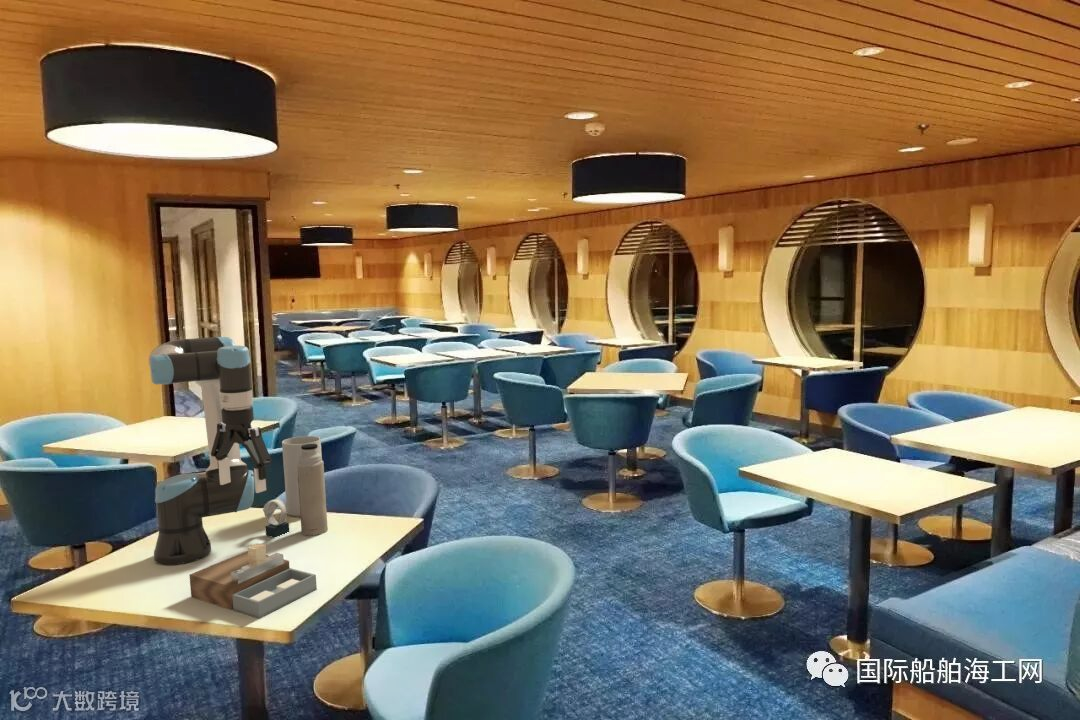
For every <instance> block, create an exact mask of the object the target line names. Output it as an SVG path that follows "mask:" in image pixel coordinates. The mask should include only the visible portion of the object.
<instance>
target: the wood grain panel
mask: <svg viewBox="0 0 1080 720" xmlns="http://www.w3.org/2000/svg"><path fill="white" fill-rule="evenodd" d="M268 556H269V555H267V554H266V557H268ZM247 565H249V558H248V550H246V551H244V552H242V553H239V554H237V555H235V556H232V557H229V558H226V559H224V560H222V561H219V562H217V563H215V564H212V565H210V566H207V567H205V568H202V569H200V570H197V571H195V572H192V573H191V574H189V587H190V597H191V598H193V599H197V600H199V601H202V602H206V603H208V604H212V605H216V606H218V607H222V608H225V609H229V610H231V611H234V610H233V599H232V595H233V594H235V593H237V592H239V591H241V590H244V589H246V588H248V587H250V586H252V585H255V584H257V583H259V582H261V581H263V580H266V579H268V578H270V577H272V576H274V575H276V574H279V573H281V572H283V571H285V570H287V569H290V568H291V567H290V560H288V559H284V564H282V565H279V566H277V567H275V568H273V569H271V570H268V571H266V572H264V573H262V574H259V575H257V576H255V577H253V578H250V579H248V580H246V581H244V582H241V583H239V584H238V583H234V582H232V578H231V572H233V571H235V570H237V569H240V568H242V567H244V566H247Z"/></svg>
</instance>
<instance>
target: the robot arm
mask: <svg viewBox="0 0 1080 720" xmlns="http://www.w3.org/2000/svg"><path fill="white" fill-rule="evenodd" d="M148 365H149V368H150V369H149V370H150V378H151V382H152V384H153V385H171V384H179V383H180V384H181V383H193V382H195V384H197V385H198V386H199V387H200V388H201V395H202V404H203V411H204V419H205V420H204V421H205V428H206V438H207V445H208V446H207V447H208V448H207V449H208V456H209V466H208V467H207V468H206V470H205V476H204V477H200V476H199V474H198V473H196V472H189V473H181V474H177V475H174V476H171V477H168V478H166V479H163V480H161V482H159V483H158V484H157V485H156V487H155V489H154V490H155V491H154V493H155V499H154V502H155V503H156V516H157V527H158V528H157V529H158V534H157V535H158V537H157V539H156V544H155V548H154V550H153V559H154V562H155V563H156V564H158V565H165V566H173V565H175V566H176V565H183V564H188V563H191V562H195V561H199V560H201V559H203V558H205V557H208V555H210V554H211V552H212V543H211V541H210V539H209V536H208V534H207V532H206V530H205V528H204V526H203V525H204V524H203V518H207V517H213V516H220V515H225V514H230V513H237V512H242V511H246V510H249V509H251V507H252V505H253V503H254V497H255V494H259V493H262V492H266V491H267V466H270V465H272V464H273V460H272V458H271V456H270V453H269V451H268V448H267V445H266V443H265V440H264V438H263V434H262V429H261V427H260V426H258V427H255V428H253V427H252V425H251V424H252V422H253V421H254V419H255V417H254V415H255V414H254V407H253V406H252V405H253V404H254V400H253V389H252V375H251V357H250V350H249V348H248V347H247V346H245V345H236V344H235V342H234V339H232V338H231V337H228V336H212V337H210V336H209V337H200V338H199V337H197V338H196V337H195V338H185V339H184V338H181V339H180V338H179V339H174V340H170V341H168V342H164V343H162V344H159V345H157V346H156V347H154V349H152V350H151V352H150V354H149V357H148ZM240 445H241V447H243V448H245V450H246V451H247V454H248V455H249V457H250V458H251V460H252V462H253V463H254V466H255V467H253V470H252V469H251V470H250V469H248V465H247V463H245V462H244V461H242V458H241V449H240Z"/></svg>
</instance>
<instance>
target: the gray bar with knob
mask: <svg viewBox="0 0 1080 720" xmlns="http://www.w3.org/2000/svg"><path fill="white" fill-rule="evenodd" d="M266 547H267V546H266V544H263V543H258V542H256V543H254V544H252V545H249V546H247V551H248V558H249V565H247V566H244V567H242V568H240V569H237V570H235V571H233V572H231V578H232V582H234V583H238V584H239V583H241V582H244V581H246V580H248V579H250V578H253V577H255V576H257V575H259V574H262V573H264V572H266V571H268V570H271V569H273V568H275V567H277V566H279V565H282V564H284V560H285V559H284V553H283V554H282V553H280V552H275V553H273V554H271V555H268V557H266V555H267V549H266Z"/></svg>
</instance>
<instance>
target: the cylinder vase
mask: <svg viewBox="0 0 1080 720" xmlns="http://www.w3.org/2000/svg"><path fill="white" fill-rule="evenodd" d="M306 444H317V445H318V447H317V450H318V453H319V454H320V455H321V460H322V461H323V458H322V457H323V456H322V455H323V454H322V442H321V437H320V436H315V435H313V436H312V435H305V436H304V435H303V436H295V437H290V438H286V439H283V440H282V441H281V445H282V446H281V447H282V461H283V474H284V475H283V477H284V489H285V501H286V502H285V503H286V504H285V506H286V509H287V515H288V516H292V517H298V516H300V502H299V488H298V473H297V463H299V456H300V455H301V450H302V449H301V446H302V445H306Z"/></svg>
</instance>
